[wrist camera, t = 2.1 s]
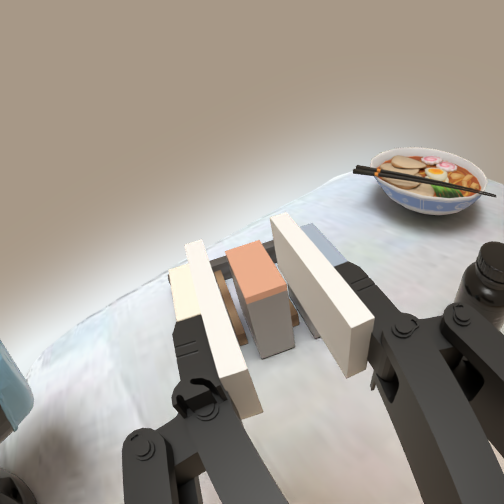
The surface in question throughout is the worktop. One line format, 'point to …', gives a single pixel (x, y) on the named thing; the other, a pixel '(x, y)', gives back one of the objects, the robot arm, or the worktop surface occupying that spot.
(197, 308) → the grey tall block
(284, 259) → the robot arm
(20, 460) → the worktop surface
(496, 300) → the supplement bottle
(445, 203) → the ramen bowl
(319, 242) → the slate key
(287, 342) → the terracotta key
